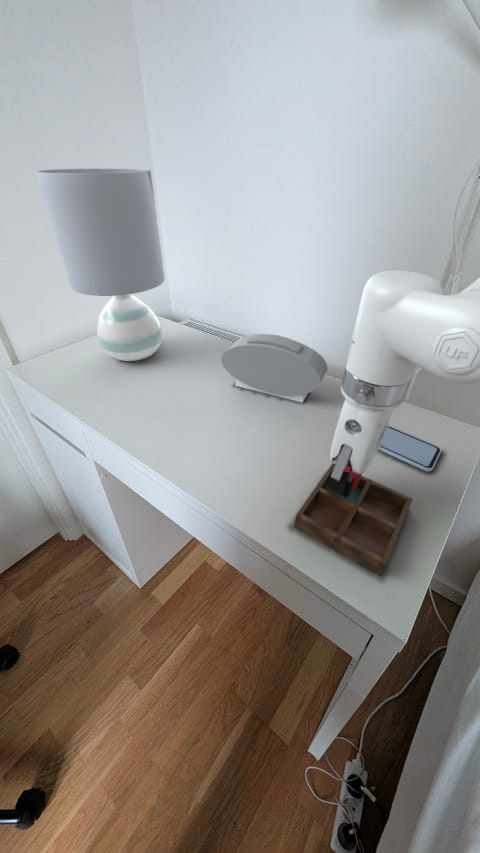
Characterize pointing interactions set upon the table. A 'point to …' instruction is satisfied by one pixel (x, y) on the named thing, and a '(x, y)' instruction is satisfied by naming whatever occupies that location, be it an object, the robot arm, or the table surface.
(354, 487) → the red cylinder
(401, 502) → the grid
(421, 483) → the table surface
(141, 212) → the lamp
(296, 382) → the alarm clock
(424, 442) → the smartphone
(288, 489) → the table surface
